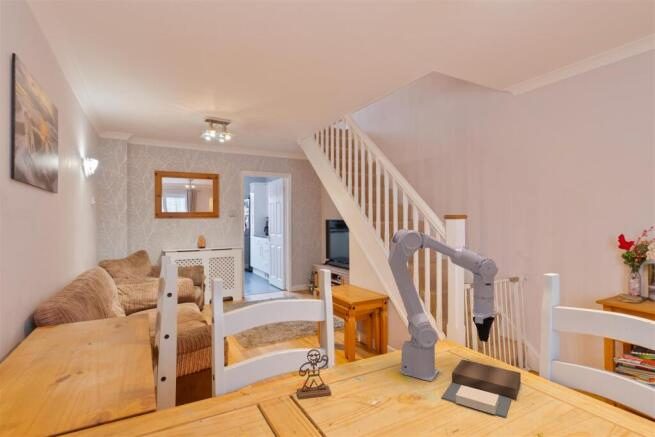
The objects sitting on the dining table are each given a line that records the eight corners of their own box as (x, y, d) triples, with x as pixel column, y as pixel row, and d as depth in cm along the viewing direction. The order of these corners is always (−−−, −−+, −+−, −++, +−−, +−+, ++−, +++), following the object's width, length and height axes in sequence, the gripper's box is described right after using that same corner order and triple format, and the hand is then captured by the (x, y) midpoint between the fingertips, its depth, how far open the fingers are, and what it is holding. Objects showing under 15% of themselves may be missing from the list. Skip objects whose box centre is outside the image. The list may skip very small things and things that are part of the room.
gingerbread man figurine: (298, 399, 88) (298, 353, 88) (296, 392, 92) (296, 348, 92) (331, 395, 90) (331, 350, 90) (328, 388, 94) (328, 345, 94)
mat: (441, 398, 88) (441, 397, 88) (451, 383, 96) (451, 382, 96) (505, 418, 79) (505, 416, 79) (511, 400, 87) (511, 398, 87)
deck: (452, 383, 96) (452, 372, 96) (461, 368, 105) (461, 359, 105) (515, 400, 87) (515, 388, 87) (520, 383, 96) (520, 372, 96)
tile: (461, 385, 90) (461, 392, 90) (455, 394, 85) (455, 402, 85) (498, 395, 85) (498, 402, 85) (494, 406, 80) (494, 414, 80)
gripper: (493, 303, 95) (494, 351, 95) (501, 293, 107) (502, 336, 107) (467, 300, 99) (467, 346, 99) (477, 291, 111) (478, 332, 111)
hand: (483, 340), depth 103 cm, fingers closed
